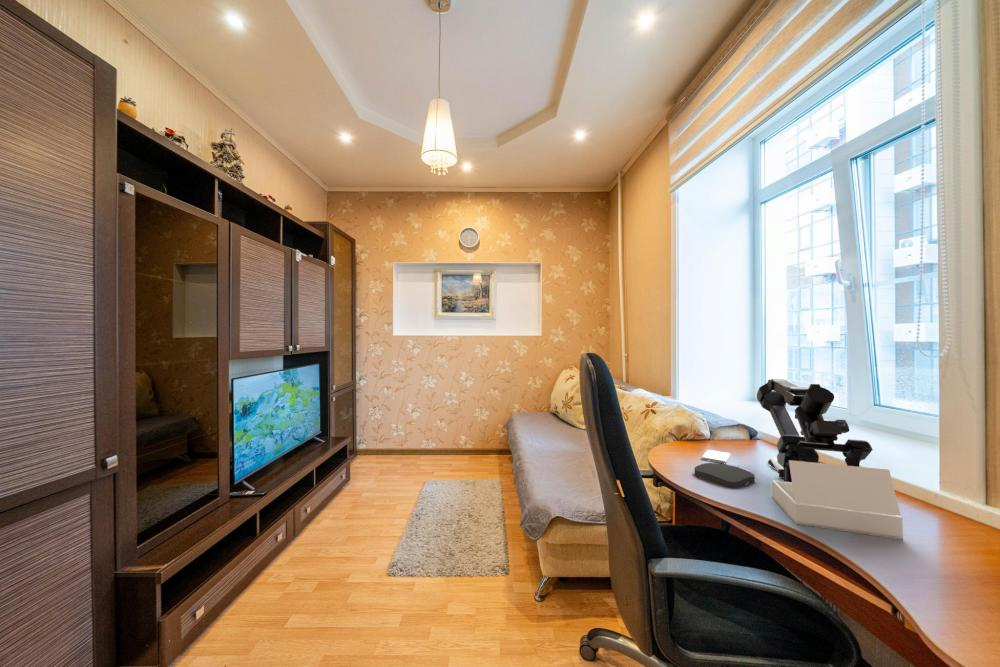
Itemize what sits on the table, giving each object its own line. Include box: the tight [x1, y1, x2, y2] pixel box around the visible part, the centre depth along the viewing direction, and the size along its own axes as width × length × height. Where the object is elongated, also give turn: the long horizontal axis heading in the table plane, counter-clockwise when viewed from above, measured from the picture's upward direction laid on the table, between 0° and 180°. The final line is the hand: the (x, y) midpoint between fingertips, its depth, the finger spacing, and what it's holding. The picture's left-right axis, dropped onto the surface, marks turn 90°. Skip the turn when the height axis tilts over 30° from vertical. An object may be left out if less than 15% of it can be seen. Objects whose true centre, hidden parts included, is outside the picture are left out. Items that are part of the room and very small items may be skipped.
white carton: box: [771, 479, 904, 540], centre depth 92 cm, size 16×20×5 cm
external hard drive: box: [700, 449, 732, 465], centre depth 138 cm, size 2×8×12 cm
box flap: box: [789, 460, 902, 517], centre depth 86 cm, size 1×20×10 cm, turn 68°
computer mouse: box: [767, 456, 784, 479], centre depth 124 cm, size 10×18×4 cm, turn 164°
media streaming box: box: [694, 462, 756, 489], centre depth 118 cm, size 15×15×3 cm
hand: (834, 477), depth 90 cm, fingers open, 9 cm apart
